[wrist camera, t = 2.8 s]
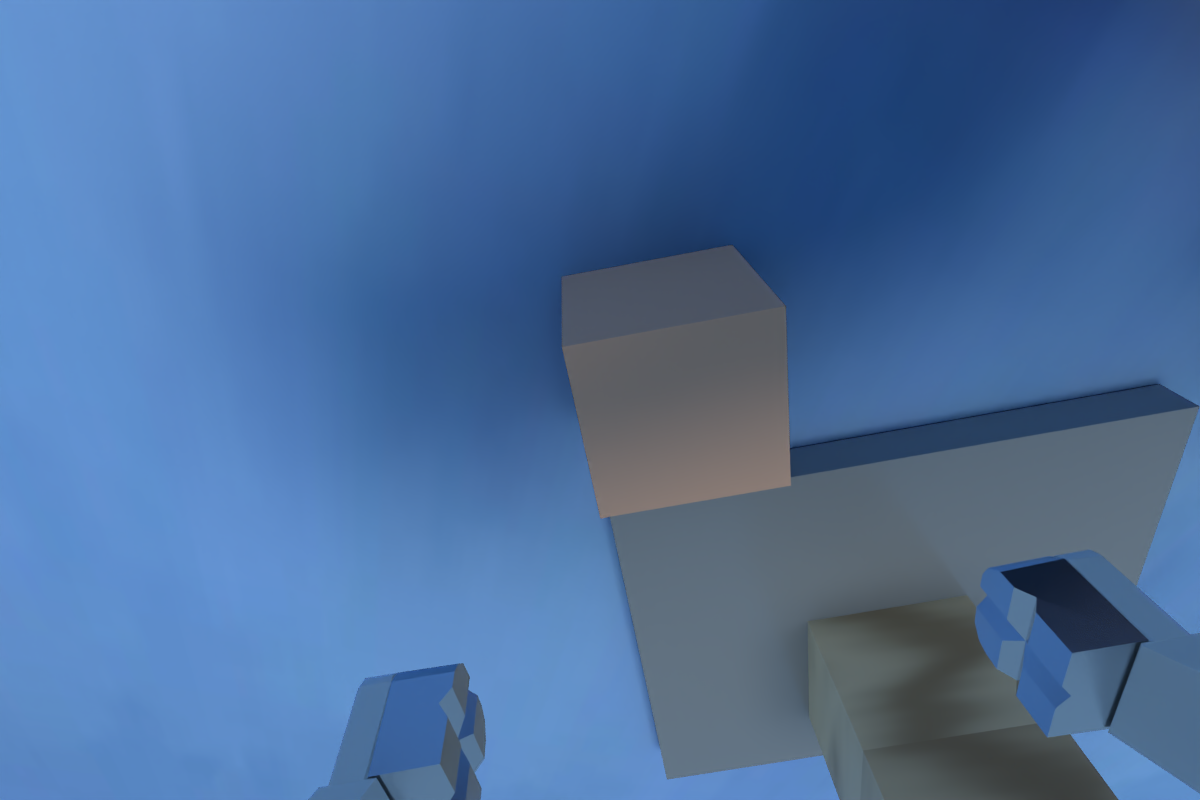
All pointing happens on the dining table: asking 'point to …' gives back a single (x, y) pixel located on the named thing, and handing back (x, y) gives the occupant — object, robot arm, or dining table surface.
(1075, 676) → the robot arm
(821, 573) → the slate board
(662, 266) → the terracotta block
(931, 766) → the tower top
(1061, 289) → the dining table surface
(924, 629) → the block
